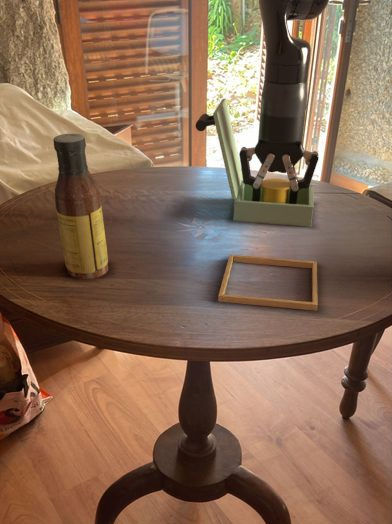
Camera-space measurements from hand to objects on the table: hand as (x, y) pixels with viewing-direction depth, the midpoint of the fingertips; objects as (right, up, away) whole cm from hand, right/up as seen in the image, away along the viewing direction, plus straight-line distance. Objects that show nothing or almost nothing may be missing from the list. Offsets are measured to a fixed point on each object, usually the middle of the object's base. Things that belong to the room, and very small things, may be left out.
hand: (273, 207), depth 104 cm
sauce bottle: (-30, -15, -19) cm, 39 cm away
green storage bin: (0, -1, +1) cm, 2 cm away
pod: (0, -1, 0) cm, 1 cm away
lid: (-8, +9, -5) cm, 13 cm away
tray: (-4, -17, -22) cm, 28 cm away
